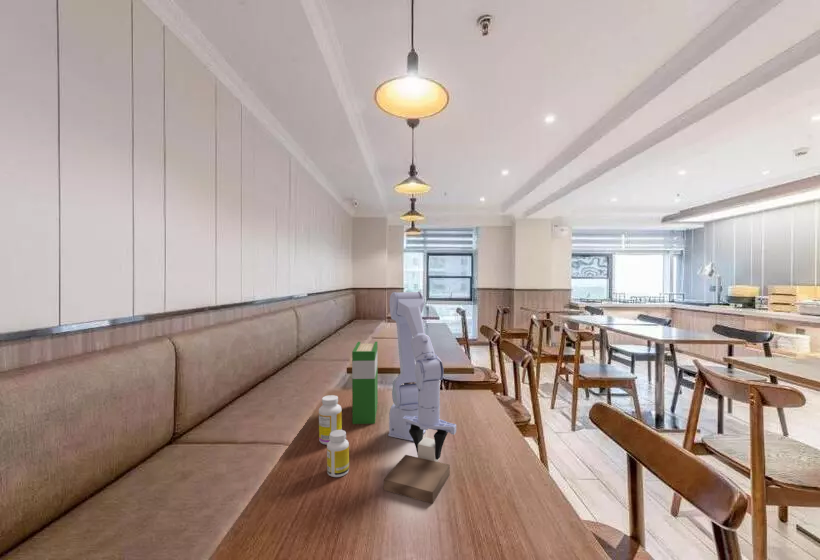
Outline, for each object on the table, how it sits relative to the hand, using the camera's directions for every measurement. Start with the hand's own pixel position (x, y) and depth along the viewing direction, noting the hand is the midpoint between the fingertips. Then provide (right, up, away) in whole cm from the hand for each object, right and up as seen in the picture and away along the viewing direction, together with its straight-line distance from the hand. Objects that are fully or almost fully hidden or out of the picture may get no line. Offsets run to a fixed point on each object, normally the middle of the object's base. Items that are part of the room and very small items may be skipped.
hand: (428, 455), depth 93 cm
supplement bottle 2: (-23, -2, -5) cm, 24 cm away
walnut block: (-3, -2, -10) cm, 10 cm away
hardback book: (-21, -1, +32) cm, 38 cm away
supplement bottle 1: (-29, -2, +12) cm, 31 cm away
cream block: (0, -1, 0) cm, 1 cm away
